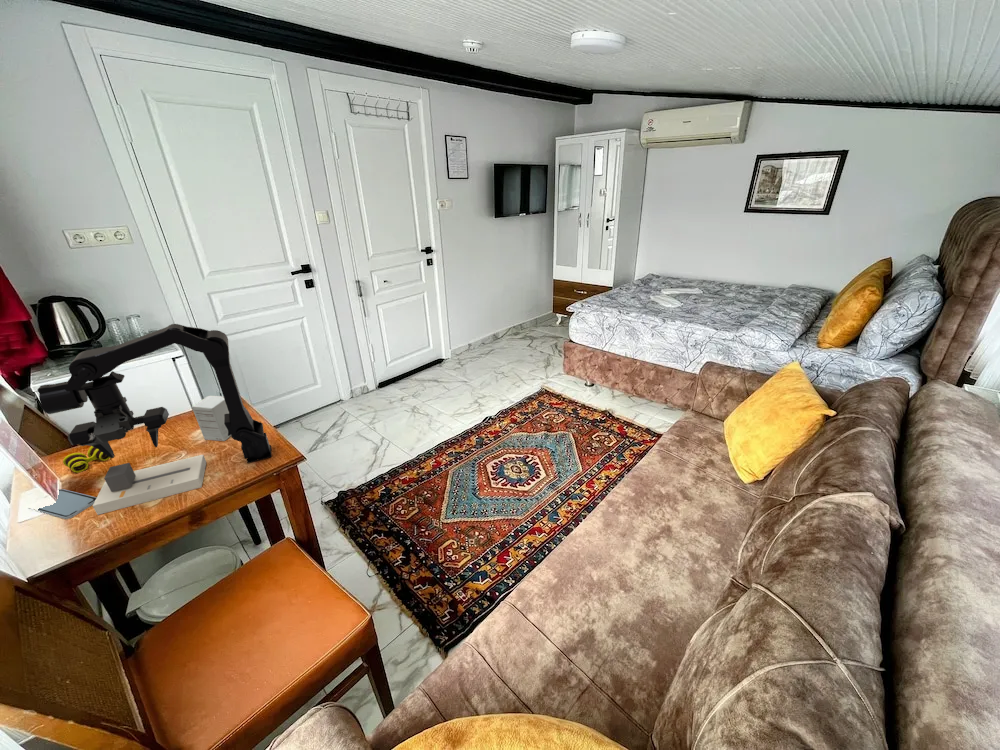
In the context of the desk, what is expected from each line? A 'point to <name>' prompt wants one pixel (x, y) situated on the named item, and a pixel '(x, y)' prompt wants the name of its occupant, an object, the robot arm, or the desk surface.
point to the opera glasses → (83, 459)
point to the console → (154, 484)
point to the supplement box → (212, 417)
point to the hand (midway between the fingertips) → (135, 451)
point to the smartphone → (68, 504)
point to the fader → (120, 477)
